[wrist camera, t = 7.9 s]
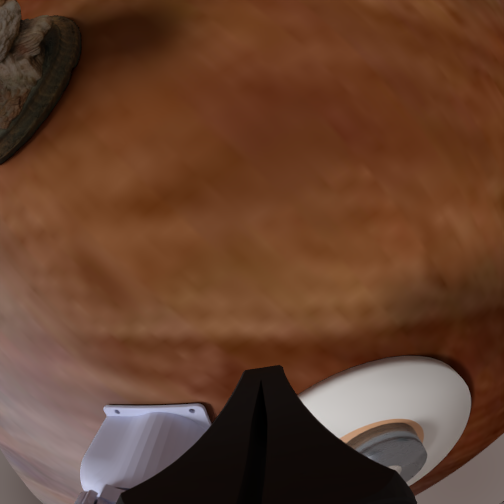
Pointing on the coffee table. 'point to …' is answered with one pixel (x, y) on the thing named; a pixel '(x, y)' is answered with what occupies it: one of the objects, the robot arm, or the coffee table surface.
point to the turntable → (395, 402)
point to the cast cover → (392, 448)
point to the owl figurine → (32, 71)
